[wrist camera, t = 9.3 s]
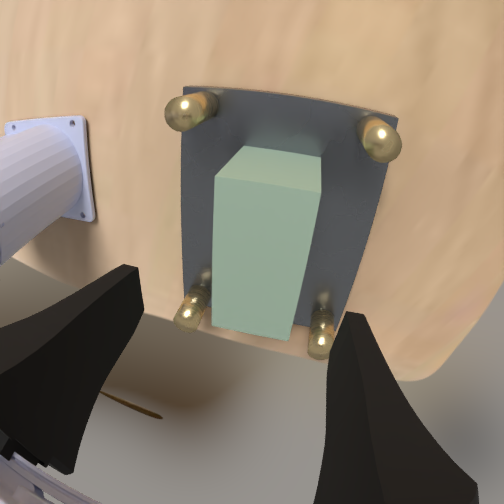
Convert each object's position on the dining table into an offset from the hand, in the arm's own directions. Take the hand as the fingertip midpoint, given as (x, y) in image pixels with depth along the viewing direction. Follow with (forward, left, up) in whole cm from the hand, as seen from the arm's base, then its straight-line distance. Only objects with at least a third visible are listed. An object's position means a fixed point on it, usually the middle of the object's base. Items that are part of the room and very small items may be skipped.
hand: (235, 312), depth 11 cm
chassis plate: (0, -1, -9) cm, 9 cm away
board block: (0, -1, -8) cm, 8 cm away
